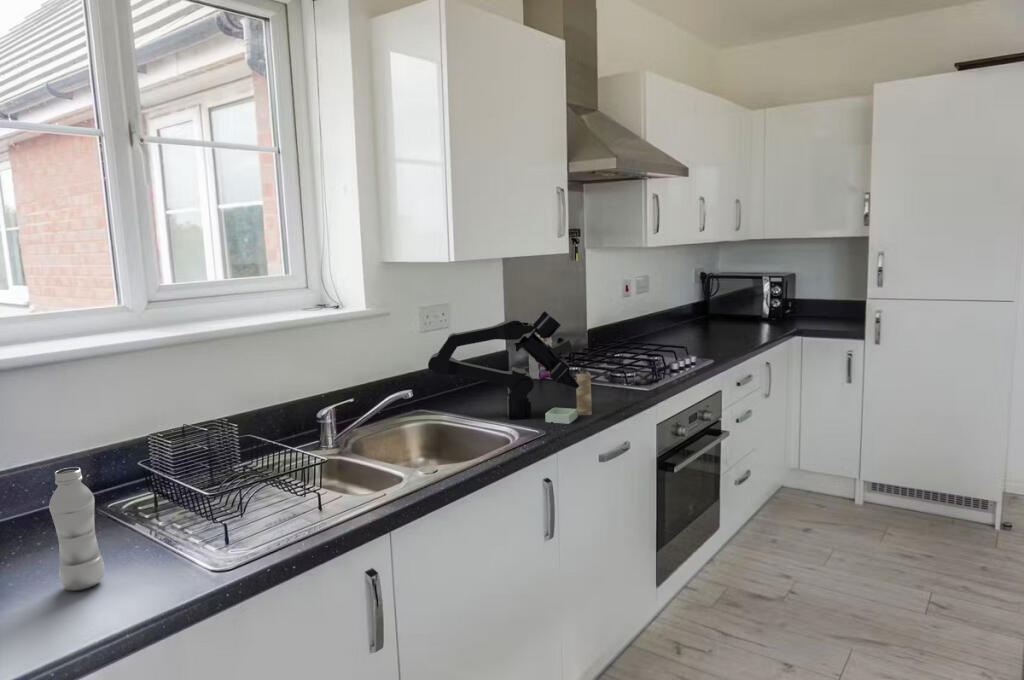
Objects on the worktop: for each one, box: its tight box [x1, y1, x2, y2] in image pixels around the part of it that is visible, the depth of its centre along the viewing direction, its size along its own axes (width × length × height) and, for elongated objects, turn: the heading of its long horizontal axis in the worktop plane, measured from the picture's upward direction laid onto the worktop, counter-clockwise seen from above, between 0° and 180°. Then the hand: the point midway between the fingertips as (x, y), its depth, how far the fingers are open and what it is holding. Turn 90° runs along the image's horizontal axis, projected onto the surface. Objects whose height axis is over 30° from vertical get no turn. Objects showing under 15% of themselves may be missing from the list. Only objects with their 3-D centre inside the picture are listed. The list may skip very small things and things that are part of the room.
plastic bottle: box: [48, 466, 105, 592], centre depth 115 cm, size 6×7×20 cm
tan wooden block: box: [575, 372, 593, 416], centre depth 213 cm, size 4×4×12 cm
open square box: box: [544, 407, 579, 425], centre depth 207 cm, size 7×7×3 cm
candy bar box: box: [527, 333, 553, 380], centre depth 270 cm, size 11×5×16 cm, turn 147°
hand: (576, 383), depth 212 cm, fingers open, 9 cm apart
